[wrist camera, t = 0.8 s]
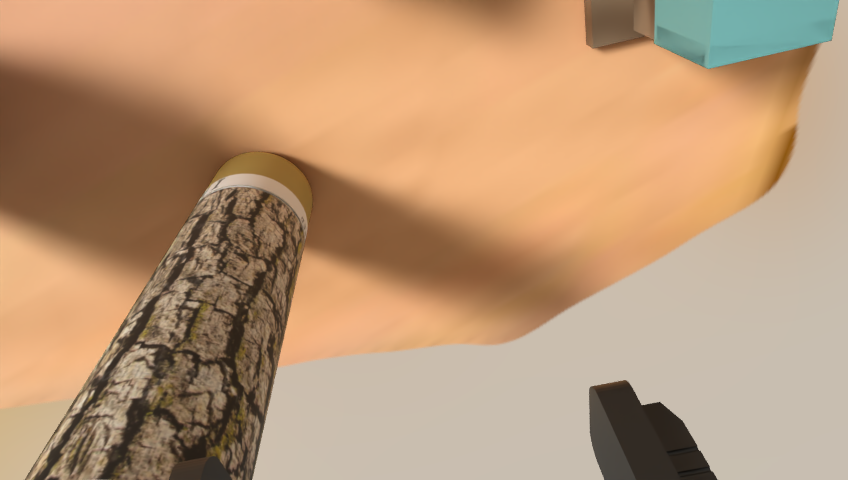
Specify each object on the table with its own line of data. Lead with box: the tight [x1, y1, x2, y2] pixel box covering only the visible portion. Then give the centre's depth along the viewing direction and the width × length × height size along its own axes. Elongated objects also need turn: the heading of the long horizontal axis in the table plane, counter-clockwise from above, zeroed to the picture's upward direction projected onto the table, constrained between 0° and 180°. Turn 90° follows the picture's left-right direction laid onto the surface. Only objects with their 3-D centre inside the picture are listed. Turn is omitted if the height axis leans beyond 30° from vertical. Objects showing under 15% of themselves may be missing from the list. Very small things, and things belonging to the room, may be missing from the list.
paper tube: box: [25, 152, 313, 480], centre depth 27 cm, size 7×7×25 cm
